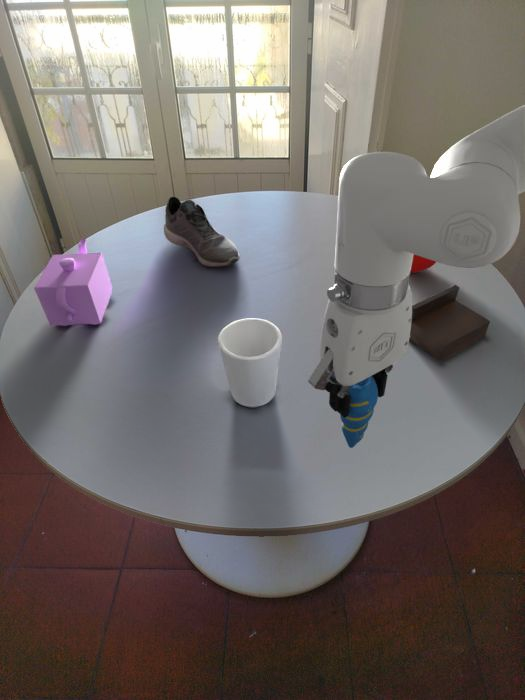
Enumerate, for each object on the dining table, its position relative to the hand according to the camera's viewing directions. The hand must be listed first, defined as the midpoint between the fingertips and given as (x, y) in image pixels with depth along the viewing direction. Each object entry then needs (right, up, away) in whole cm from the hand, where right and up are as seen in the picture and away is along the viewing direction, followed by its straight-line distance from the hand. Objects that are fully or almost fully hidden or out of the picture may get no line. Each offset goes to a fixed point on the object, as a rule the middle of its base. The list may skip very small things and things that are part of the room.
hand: (356, 399), depth 60 cm
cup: (-14, -1, +20) cm, 24 cm away
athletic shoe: (-27, +31, +56) cm, 70 cm away
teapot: (-50, +15, +40) cm, 66 cm away
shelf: (+23, +9, +29) cm, 38 cm away
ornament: (+1, -7, +7) cm, 10 cm away
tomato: (+21, +25, +47) cm, 58 cm away
